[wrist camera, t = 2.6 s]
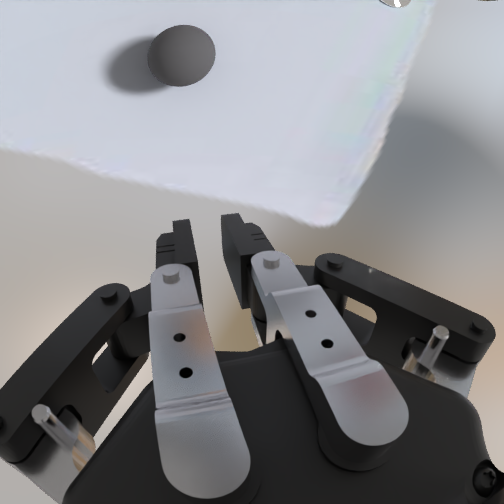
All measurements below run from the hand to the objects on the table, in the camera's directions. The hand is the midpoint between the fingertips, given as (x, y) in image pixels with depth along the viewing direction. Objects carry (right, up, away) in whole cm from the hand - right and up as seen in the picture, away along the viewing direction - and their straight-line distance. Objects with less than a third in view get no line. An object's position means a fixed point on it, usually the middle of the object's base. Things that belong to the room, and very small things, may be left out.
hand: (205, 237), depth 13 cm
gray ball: (-4, +15, +7) cm, 17 cm away
